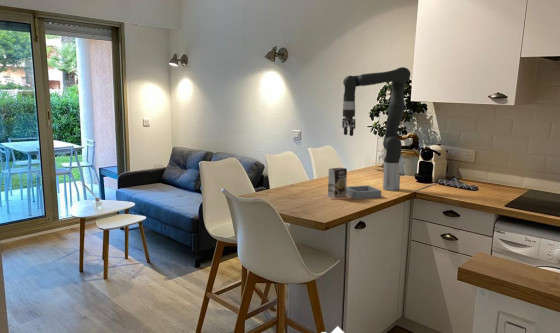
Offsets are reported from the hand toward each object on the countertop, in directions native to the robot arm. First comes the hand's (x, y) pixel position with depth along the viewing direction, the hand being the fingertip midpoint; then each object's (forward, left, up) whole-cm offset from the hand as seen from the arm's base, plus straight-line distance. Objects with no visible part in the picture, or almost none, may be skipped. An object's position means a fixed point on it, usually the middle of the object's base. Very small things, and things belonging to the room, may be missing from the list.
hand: (348, 135), depth 258 cm
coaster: (+15, +19, -34) cm, 42 cm away
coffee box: (+15, +19, -34) cm, 41 cm away
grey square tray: (-1, +19, -34) cm, 39 cm away
